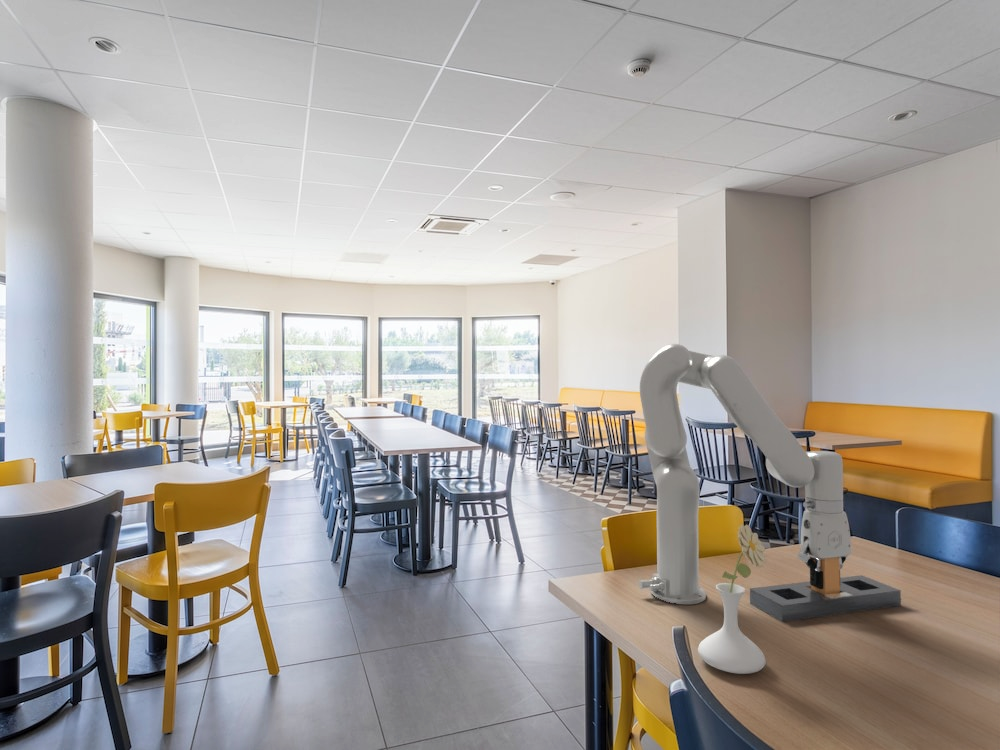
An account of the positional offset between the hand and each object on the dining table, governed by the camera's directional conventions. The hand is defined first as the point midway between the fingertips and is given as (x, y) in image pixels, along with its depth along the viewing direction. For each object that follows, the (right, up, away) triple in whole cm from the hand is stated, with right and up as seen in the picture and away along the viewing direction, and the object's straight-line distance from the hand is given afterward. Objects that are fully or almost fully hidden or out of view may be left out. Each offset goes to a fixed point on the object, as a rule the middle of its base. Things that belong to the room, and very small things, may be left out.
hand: (825, 585), depth 127 cm
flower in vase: (-32, -5, -26) cm, 41 cm away
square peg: (0, -3, 0) cm, 3 cm away
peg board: (0, -4, 0) cm, 4 cm away
